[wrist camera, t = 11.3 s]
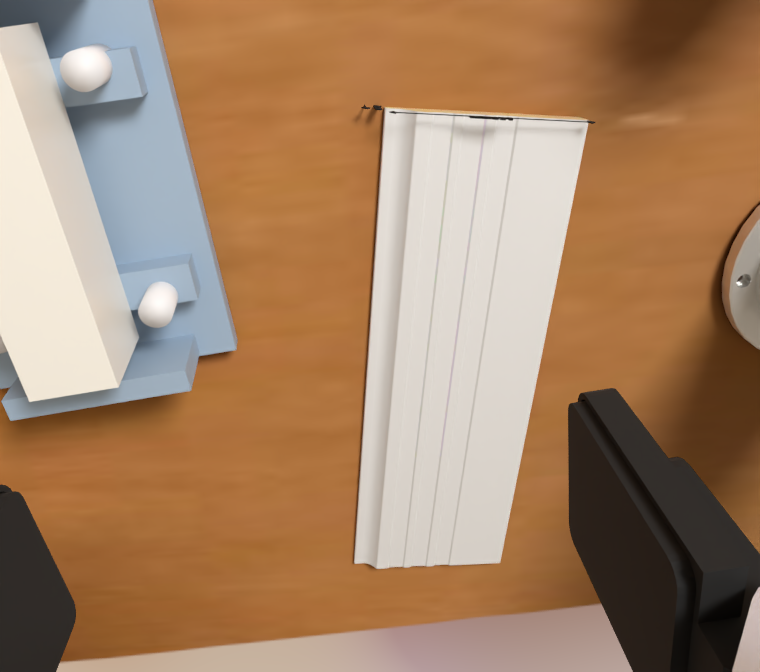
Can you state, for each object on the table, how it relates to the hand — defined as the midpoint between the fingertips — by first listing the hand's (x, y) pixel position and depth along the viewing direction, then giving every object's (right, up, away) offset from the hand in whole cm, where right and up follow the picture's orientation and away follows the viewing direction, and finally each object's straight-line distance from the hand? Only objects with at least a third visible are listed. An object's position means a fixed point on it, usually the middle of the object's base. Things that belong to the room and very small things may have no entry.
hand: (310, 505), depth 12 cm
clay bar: (-14, +9, +20) cm, 26 cm away
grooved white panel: (+5, +1, +31) cm, 31 cm away
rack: (-15, +10, +22) cm, 29 cm away
